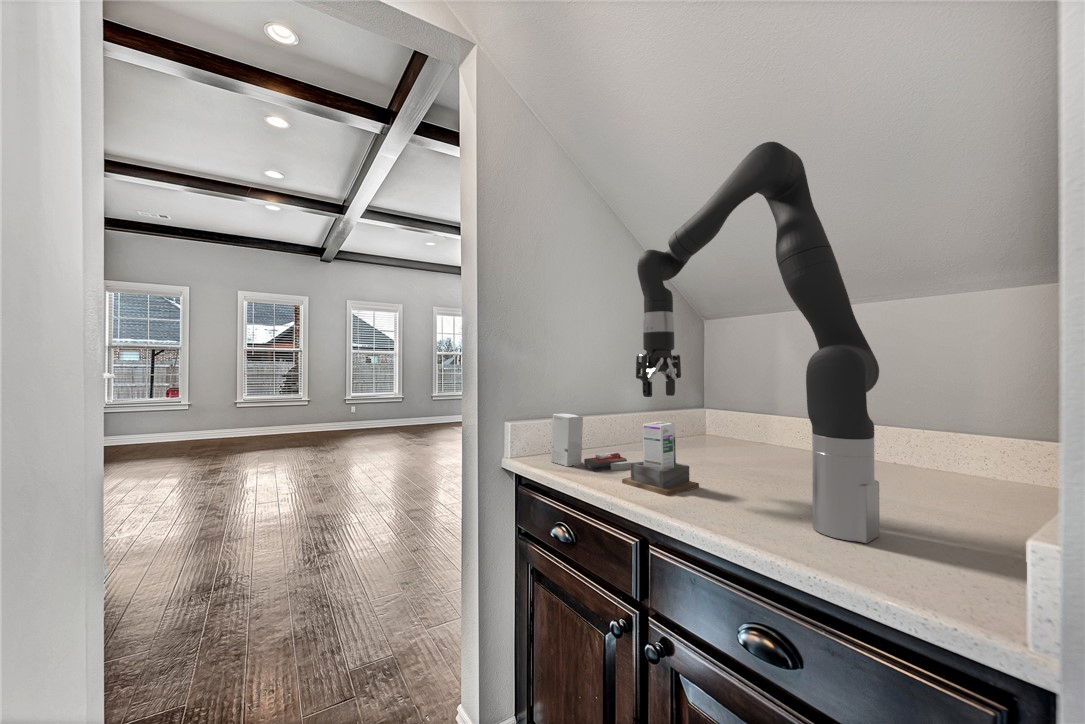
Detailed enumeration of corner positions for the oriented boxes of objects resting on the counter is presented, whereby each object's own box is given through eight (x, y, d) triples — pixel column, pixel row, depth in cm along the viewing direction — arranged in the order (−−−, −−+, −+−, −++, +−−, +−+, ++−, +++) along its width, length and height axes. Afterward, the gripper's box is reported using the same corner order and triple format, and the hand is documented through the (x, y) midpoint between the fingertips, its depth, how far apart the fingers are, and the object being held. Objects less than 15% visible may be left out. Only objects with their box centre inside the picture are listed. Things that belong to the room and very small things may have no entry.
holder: (698, 487, 110) (698, 466, 110) (667, 495, 103) (667, 473, 103) (653, 475, 121) (653, 457, 121) (622, 482, 114) (622, 463, 114)
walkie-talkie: (596, 475, 124) (652, 467, 133) (596, 459, 124) (652, 452, 133) (579, 468, 132) (634, 462, 141) (579, 453, 132) (634, 447, 141)
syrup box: (662, 485, 108) (662, 424, 108) (642, 480, 112) (642, 422, 112) (676, 481, 111) (676, 422, 111) (656, 477, 116) (656, 420, 116)
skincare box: (550, 462, 138) (550, 414, 138) (565, 459, 142) (565, 412, 142) (568, 467, 132) (568, 416, 132) (583, 464, 135) (583, 415, 135)
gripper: (651, 328, 105) (652, 398, 105) (689, 331, 113) (689, 395, 113) (627, 331, 111) (628, 396, 111) (665, 333, 119) (665, 394, 119)
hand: (659, 396), depth 112 cm, fingers open, 8 cm apart
